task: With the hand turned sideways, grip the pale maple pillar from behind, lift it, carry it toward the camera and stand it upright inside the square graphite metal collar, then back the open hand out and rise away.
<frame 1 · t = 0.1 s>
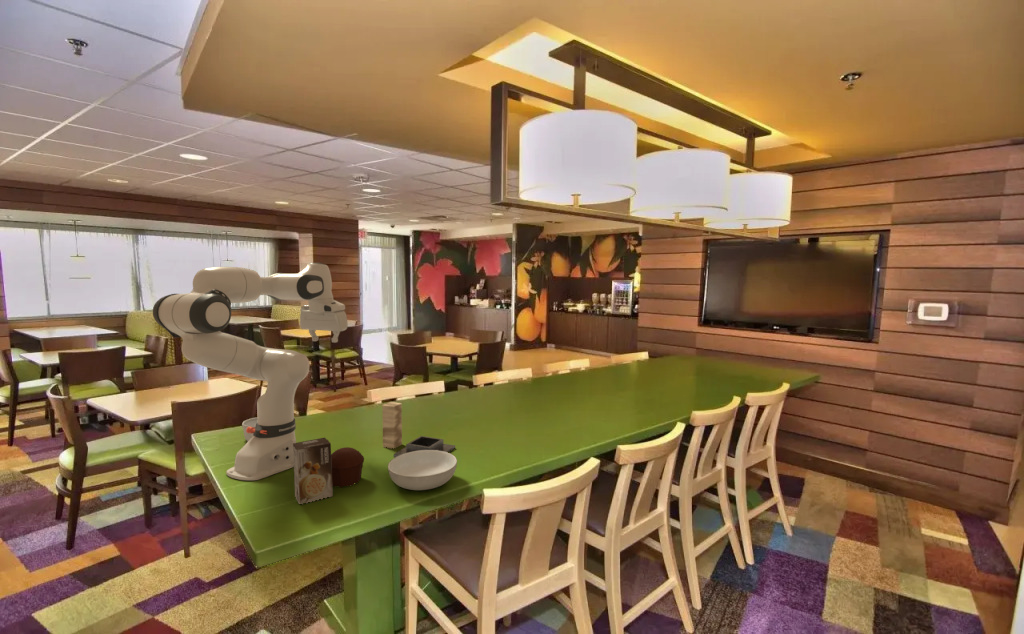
hand: (325, 341, 176), 39 cm above the table, tool pointing down, fingers open, 8 cm apart
printed cardboard box: (313, 497, 133), on the table
serving bowl: (423, 484, 143), on the table
muffin: (345, 481, 144), on the table
collar: (425, 452, 168), on the table
ramekin: (262, 438, 181), on the table
pillar: (392, 445, 174), on the table
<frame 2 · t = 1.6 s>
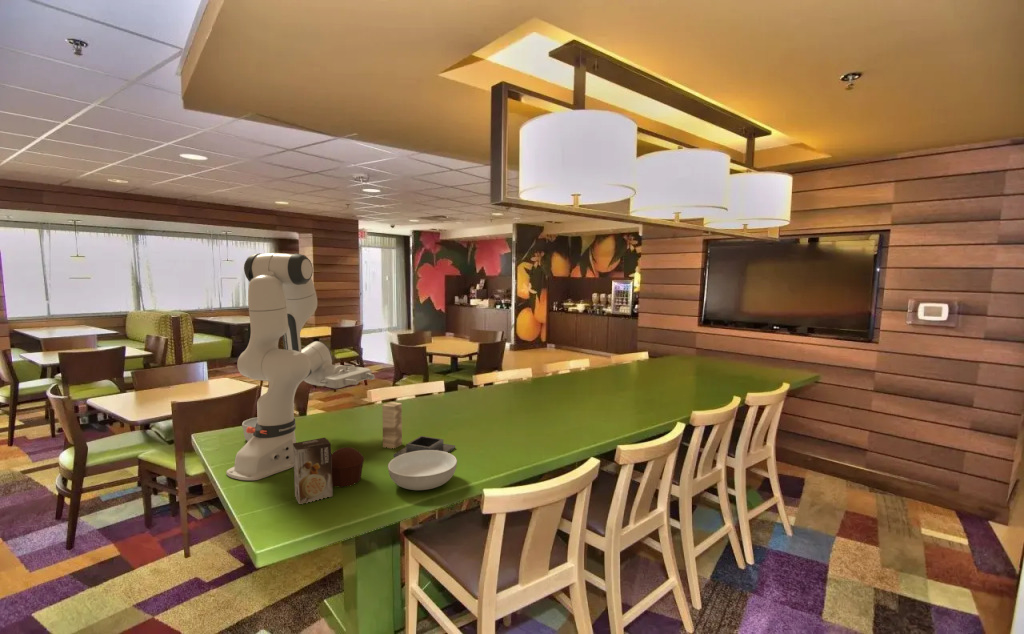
hand: (365, 379, 177), 24 cm above the table, tool horizontal, fingers open, 8 cm apart
nothing on the table moved.
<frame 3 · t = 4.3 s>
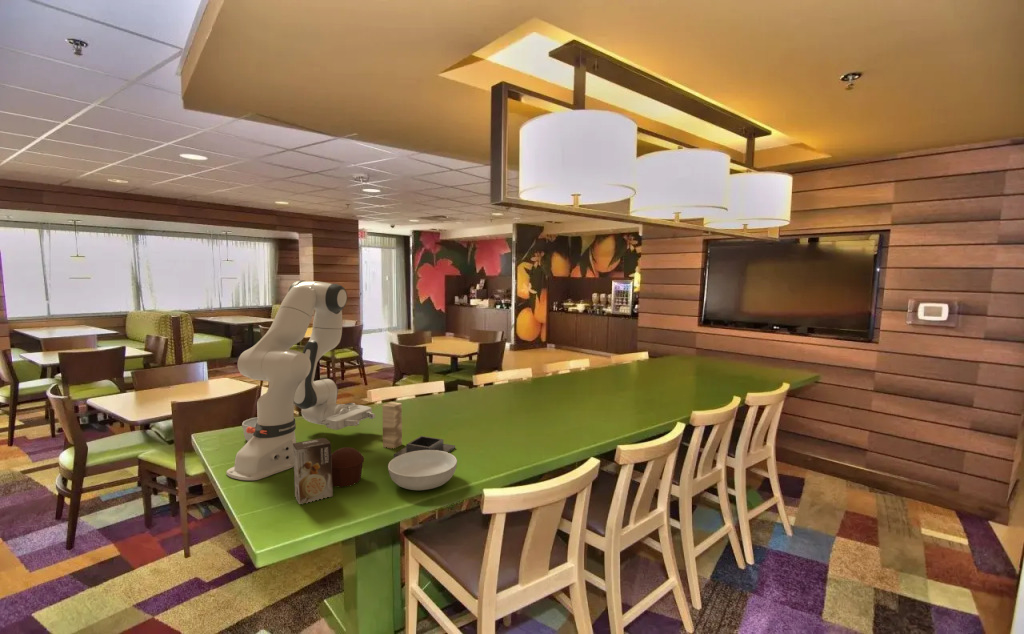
hand: (366, 419, 178), 9 cm above the table, tool horizontal, fingers open, 8 cm apart
nothing on the table moved.
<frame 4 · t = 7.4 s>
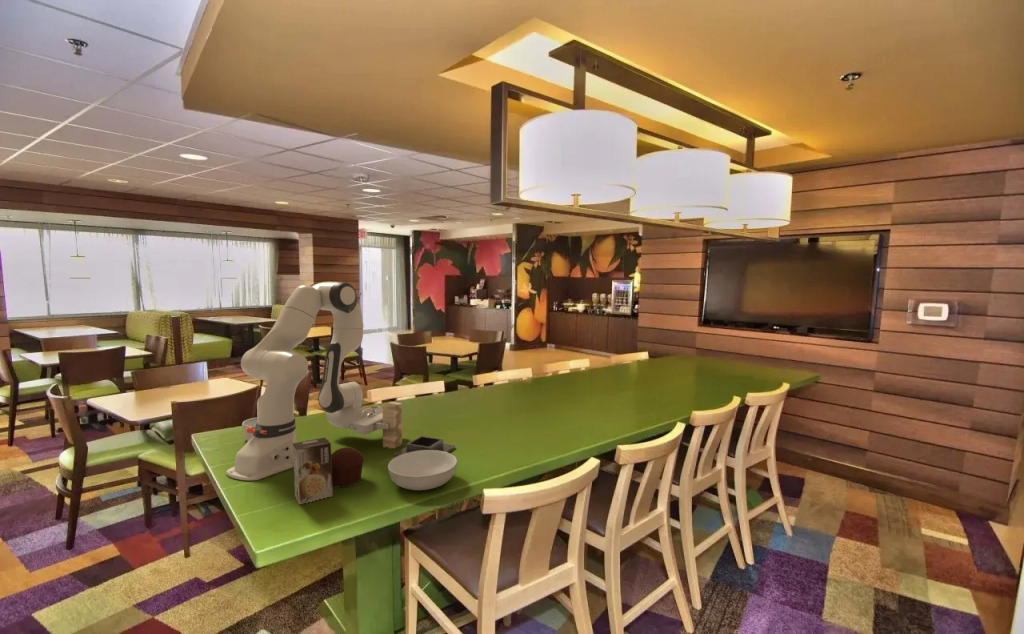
hand: (394, 423, 173), 9 cm above the table, tool horizontal, fingers closed on pillar, 5 cm apart
pillar: (392, 445, 174), on the table, touching gripper
everything else where it was.
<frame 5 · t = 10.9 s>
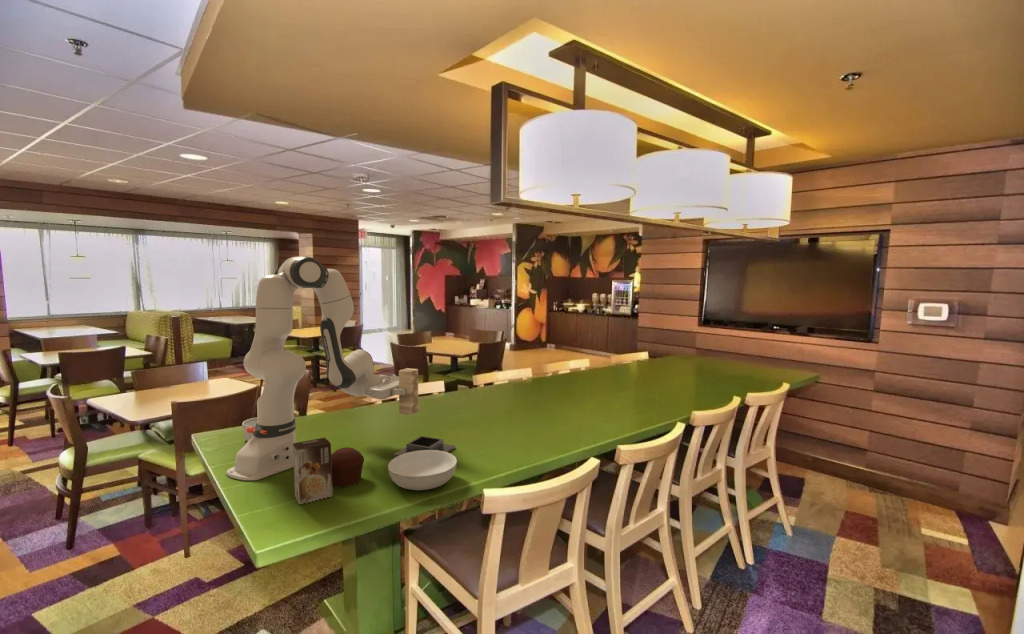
hand: (410, 390, 169), 22 cm above the table, tool horizontal, fingers closed on pillar, 5 cm apart
pillar: (408, 412, 170), point 14 cm above the table, touching gripper
everything else where it was.
when the fingers open (11 cm above the table, at t = 14.6 s): pillar drops 1 cm, resting on collar.
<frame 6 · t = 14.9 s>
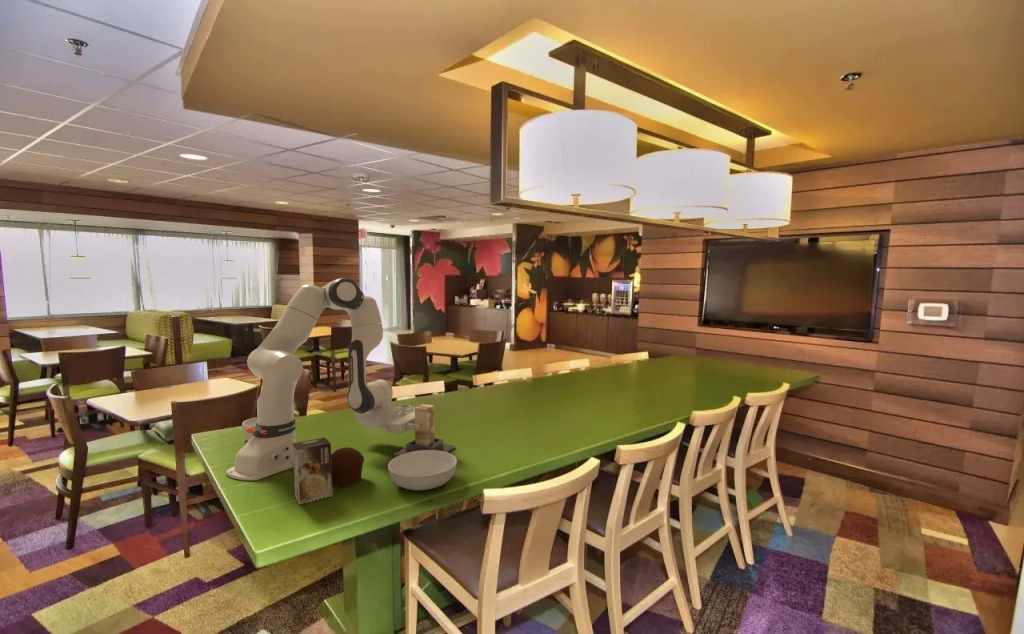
hand: (427, 423, 167), 11 cm above the table, tool horizontal, fingers open, 8 cm apart
pillar: (425, 449, 168), point 1 cm above the table, touching collar
everything else where it was.
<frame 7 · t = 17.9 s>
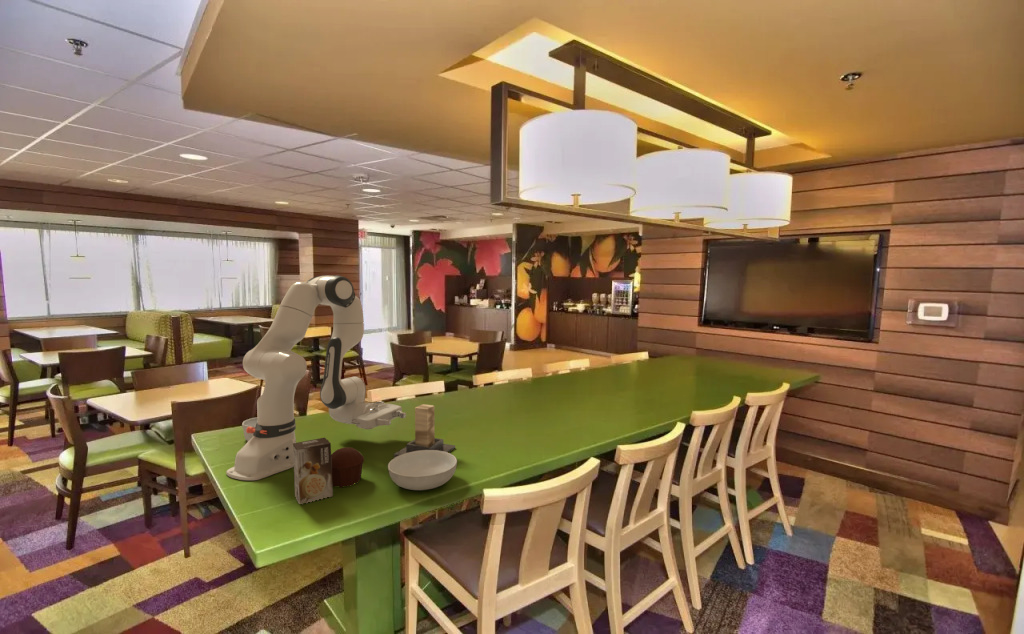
hand: (397, 419, 171), 11 cm above the table, tool horizontal, fingers open, 8 cm apart
nothing on the table moved.
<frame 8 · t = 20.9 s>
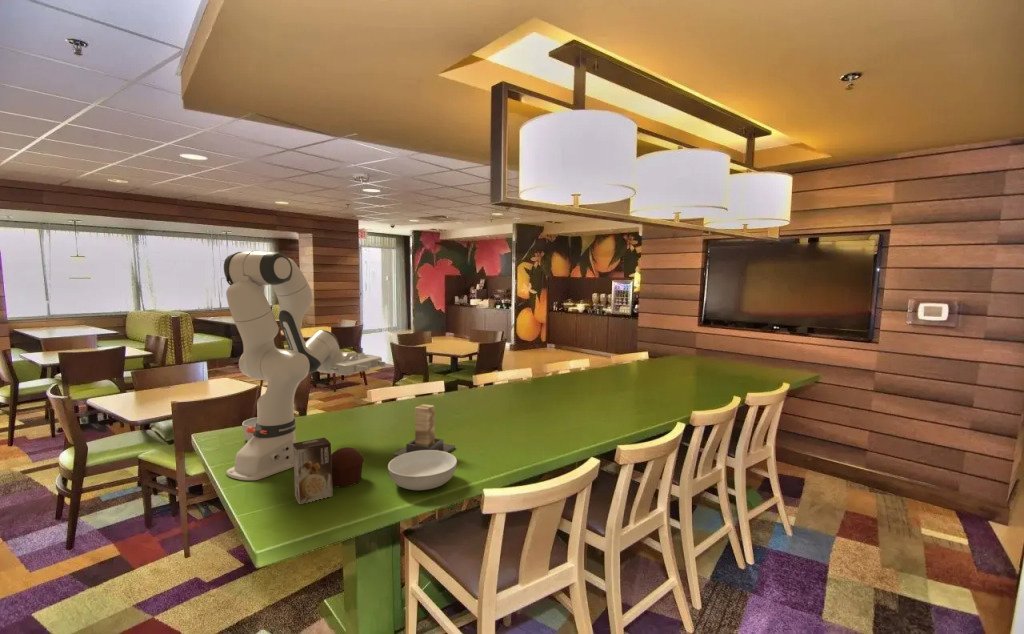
hand: (376, 366, 173), 30 cm above the table, tool horizontal, fingers open, 8 cm apart
nothing on the table moved.
at the end: pillar 0.1 cm off-centre on the collar, point 1.0 cm above the collar's base; pillar tilted 0°; the gripper is holding nothing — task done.
